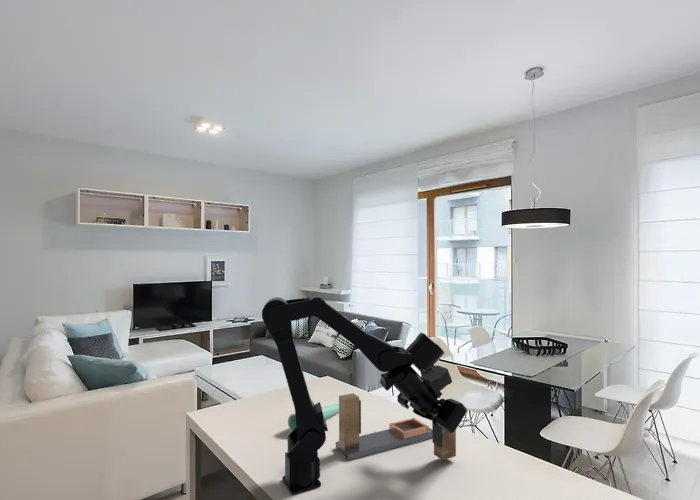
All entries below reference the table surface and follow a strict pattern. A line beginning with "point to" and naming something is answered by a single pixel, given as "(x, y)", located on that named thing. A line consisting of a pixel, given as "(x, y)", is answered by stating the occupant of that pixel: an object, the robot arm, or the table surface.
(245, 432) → the table surface
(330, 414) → the mint green cone
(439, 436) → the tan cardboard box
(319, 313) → the robot arm
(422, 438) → the rail
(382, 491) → the table surface
